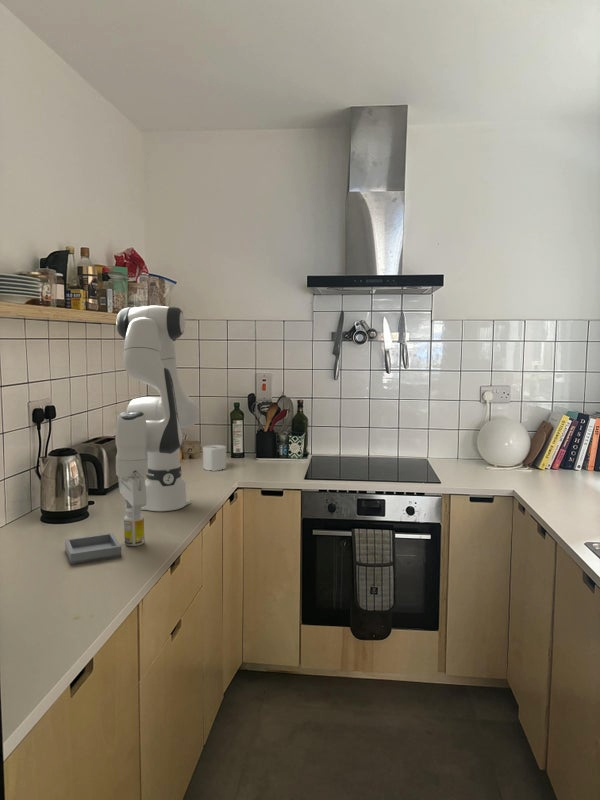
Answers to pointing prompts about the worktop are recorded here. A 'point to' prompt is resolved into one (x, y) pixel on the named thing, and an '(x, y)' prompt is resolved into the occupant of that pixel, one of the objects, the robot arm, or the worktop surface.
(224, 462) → the toilet tissue
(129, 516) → the supplement bottle
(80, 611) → the worktop surface
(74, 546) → the tray
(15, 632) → the worktop surface
